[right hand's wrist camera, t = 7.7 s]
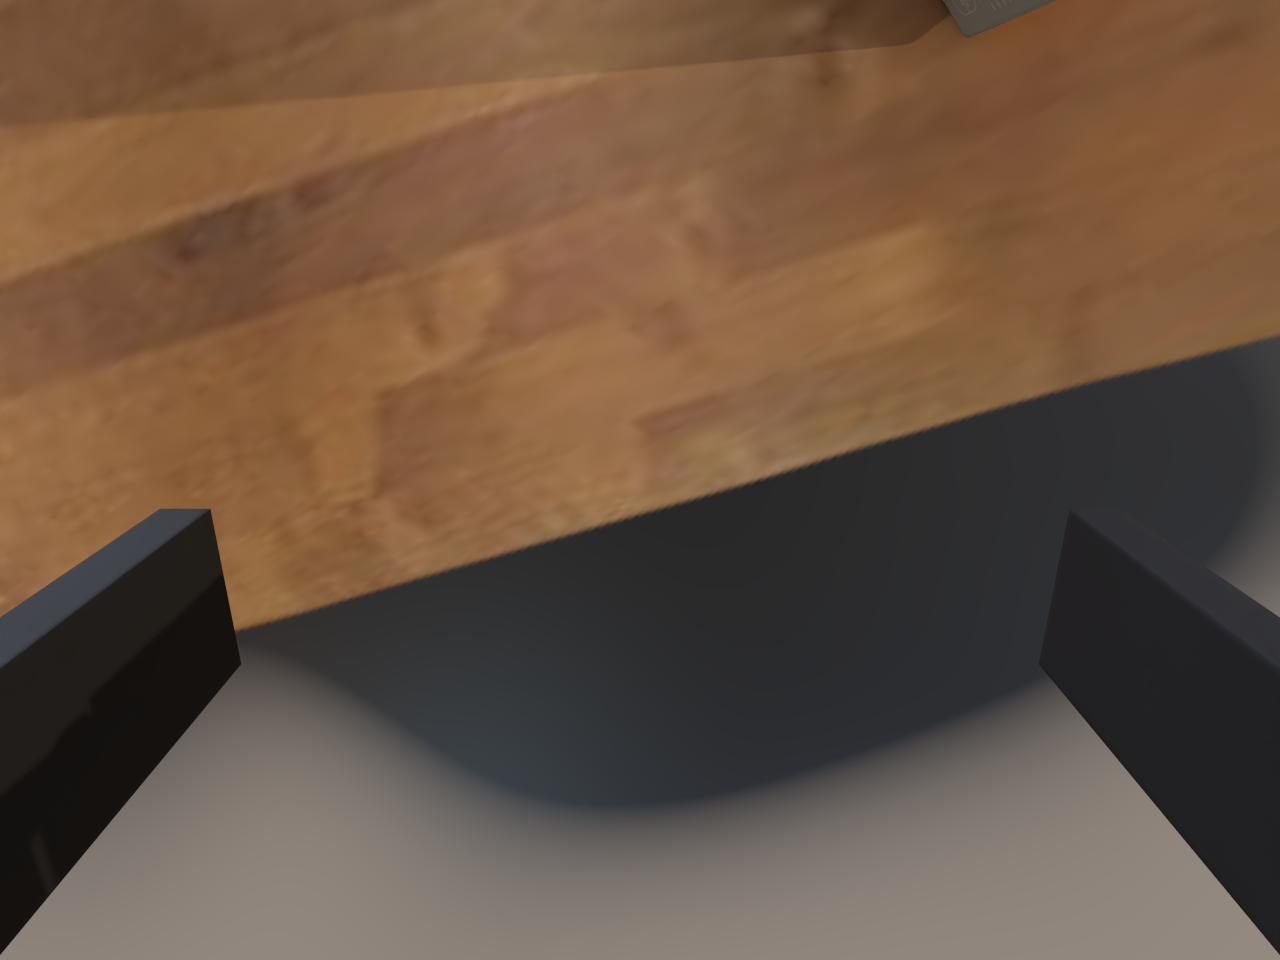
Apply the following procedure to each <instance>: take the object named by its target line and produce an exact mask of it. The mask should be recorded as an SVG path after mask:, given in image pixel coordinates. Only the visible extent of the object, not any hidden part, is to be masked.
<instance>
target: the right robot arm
mask: <svg viewBox="0 0 1280 960" xmlns="http://www.w3.org/2000/svg"><path fill="white" fill-rule="evenodd" d="M240 665H241V661H240V656H239V651H238V646H237V641H236V636H235V631H234V626H233V621H232V616H231V611H230V606H229V601H228V596H227V591H226V586H225V581H224V576H223V571H222V566H221V560H220V555H219V550H218V545H217V540H216V535H215V530H214V525H213V520H212V515H211V510H210V509H159V510H158V511H156V512H155V513H153V514H152V515H150V516H149V517H147V518H146V519H144V520H143V521H142V522H140V523H139V524H137V525H136V526H134V527H133V528H131V529H130V530H128V531H127V532H125V533H124V534H122V535H121V536H119V537H118V538H117V539H115V540H114V541H112V542H111V543H109V544H108V545H106V546H105V547H103V548H102V549H100V550H99V551H97V552H96V553H94V554H93V555H92V556H90V557H89V558H87V559H86V560H84V561H83V562H81V563H80V564H78V565H77V566H75V567H74V568H72V569H71V570H69V571H68V572H67V573H65V574H64V575H62V576H61V577H59V578H58V579H56V580H55V581H53V582H52V583H50V584H49V585H47V586H46V587H44V588H43V589H42V590H40V591H39V592H37V593H36V594H34V595H33V596H31V597H30V598H28V599H27V600H25V601H24V602H22V603H21V604H19V605H18V606H17V607H15V608H14V609H12V610H11V611H9V612H8V613H6V614H5V615H3V616H2V617H0V954H1V953H2V952H3V951H4V950H5V948H6V947H7V946H8V945H9V943H10V942H11V941H12V940H13V939H14V938H15V936H16V935H17V934H18V933H19V932H20V930H21V929H22V928H23V927H24V925H25V924H26V923H27V922H28V921H29V919H30V918H31V917H32V916H33V915H34V913H35V912H36V911H37V910H38V909H39V907H40V906H41V905H42V904H43V903H44V901H45V900H46V899H47V898H48V897H49V895H50V894H51V893H52V892H53V890H54V889H55V888H56V887H57V886H58V884H59V883H60V882H61V881H62V880H63V878H64V877H65V876H66V875H67V874H68V872H69V871H70V870H71V869H72V867H73V866H74V865H75V864H76V863H77V861H78V860H79V859H80V858H81V857H82V855H83V854H84V853H85V852H86V851H87V849H88V848H89V847H90V846H91V845H92V843H93V842H94V841H95V840H96V839H97V837H98V836H99V835H100V834H101V833H102V831H103V830H104V829H105V828H106V827H107V825H108V824H109V823H110V822H111V820H112V819H113V818H114V817H115V816H116V814H117V813H118V812H119V811H120V810H121V808H122V807H123V806H124V805H125V804H126V802H127V801H128V800H129V799H130V798H131V796H132V795H133V794H134V793H135V791H136V790H137V789H138V788H139V787H140V785H141V784H142V783H143V782H144V781H145V779H146V778H147V777H148V776H149V775H150V773H151V772H152V771H153V770H154V769H155V767H156V766H157V765H158V764H159V763H160V761H161V760H162V759H163V758H164V756H165V755H166V754H167V753H168V752H169V750H170V749H171V748H172V747H173V746H174V744H175V743H176V742H177V741H178V740H179V738H180V737H181V736H182V735H183V734H184V732H185V731H186V730H187V729H188V728H189V726H190V725H191V724H192V723H193V721H194V720H195V719H196V718H197V717H198V715H199V714H200V713H201V712H202V711H203V709H204V708H205V707H206V706H207V705H208V703H209V702H210V701H211V700H212V699H213V697H214V696H215V695H216V694H217V693H218V691H219V690H220V689H221V688H222V686H223V685H224V684H225V683H226V682H227V680H228V679H229V678H230V677H231V676H232V674H233V673H234V672H235V671H236V669H237V668H238V667H239V666H240ZM1039 665H1040V666H1041V667H1042V668H1043V670H1044V671H1045V672H1046V673H1047V674H1048V676H1049V677H1050V678H1051V679H1052V680H1053V682H1054V683H1055V684H1056V685H1057V686H1058V688H1059V689H1060V690H1061V691H1062V693H1063V694H1064V695H1065V696H1066V697H1067V699H1068V700H1069V701H1070V702H1071V703H1072V705H1073V706H1074V707H1075V708H1076V709H1077V711H1078V712H1079V713H1080V714H1081V715H1082V717H1083V718H1084V719H1085V720H1086V721H1087V723H1088V724H1089V725H1090V726H1091V727H1092V729H1093V730H1094V731H1095V732H1096V734H1097V735H1098V736H1099V737H1100V738H1101V740H1102V741H1103V742H1104V743H1105V744H1106V746H1107V747H1108V748H1109V749H1110V750H1111V752H1112V753H1113V754H1114V755H1115V756H1116V758H1117V759H1118V760H1119V761H1120V763H1121V764H1122V765H1123V766H1124V767H1125V769H1126V770H1127V771H1128V772H1129V773H1130V775H1131V776H1132V777H1133V778H1134V779H1135V781H1136V782H1137V783H1138V784H1139V785H1140V787H1141V788H1142V789H1143V790H1144V791H1145V793H1146V794H1147V795H1148V796H1149V797H1150V799H1151V800H1152V801H1153V802H1154V804H1155V805H1156V806H1157V807H1158V808H1159V810H1160V811H1161V812H1162V813H1163V814H1164V816H1165V817H1166V818H1167V819H1168V820H1169V822H1170V823H1171V824H1172V825H1173V826H1174V828H1175V829H1176V830H1177V831H1178V833H1179V834H1180V835H1181V836H1182V837H1183V839H1184V840H1185V841H1186V842H1187V843H1188V845H1189V846H1190V847H1191V848H1192V849H1193V851H1194V852H1195V853H1196V854H1197V855H1198V857H1199V858H1200V859H1201V860H1202V862H1203V863H1204V864H1205V865H1206V866H1207V868H1208V869H1209V870H1210V871H1211V872H1212V874H1213V875H1214V876H1215V877H1216V878H1217V880H1218V881H1219V882H1220V883H1221V884H1222V886H1223V887H1224V888H1225V889H1226V890H1227V892H1228V893H1229V894H1230V895H1231V897H1232V898H1233V899H1234V900H1235V901H1236V903H1237V904H1238V905H1239V906H1240V907H1241V909H1242V910H1243V911H1244V912H1245V913H1246V915H1247V916H1248V917H1249V918H1250V919H1251V921H1252V922H1253V923H1254V924H1255V925H1256V927H1257V928H1258V929H1259V930H1260V932H1261V933H1262V934H1263V935H1264V936H1265V938H1266V939H1267V940H1268V941H1269V942H1270V944H1271V945H1272V946H1273V947H1274V948H1275V950H1276V951H1277V952H1278V953H1279V954H1280V617H1278V616H1277V615H1275V614H1274V613H1272V612H1271V611H1269V610H1268V609H1266V608H1265V607H1263V606H1262V605H1260V604H1259V603H1258V602H1256V601H1255V600H1253V599H1252V598H1250V597H1249V596H1247V595H1246V594H1244V593H1243V592H1241V591H1240V590H1238V589H1237V588H1236V587H1234V586H1233V585H1231V584H1230V583H1228V582H1227V581H1225V580H1224V579H1222V578H1221V577H1219V576H1218V575H1216V574H1215V573H1213V572H1212V571H1210V570H1209V569H1208V568H1206V567H1205V566H1203V565H1202V564H1200V563H1199V562H1197V561H1196V560H1194V559H1193V558H1191V557H1190V556H1188V555H1187V554H1186V553H1184V552H1183V551H1181V550H1180V549H1178V548H1177V547H1175V546H1174V545H1172V544H1171V543H1169V542H1168V541H1166V540H1165V539H1163V538H1162V537H1161V536H1159V535H1158V534H1156V533H1155V532H1153V531H1152V530H1150V529H1149V528H1147V527H1146V526H1144V525H1143V524H1141V523H1140V522H1138V521H1137V520H1136V519H1134V518H1133V517H1131V516H1130V515H1128V514H1127V513H1125V512H1124V511H1122V510H1121V509H1070V510H1069V515H1068V521H1067V525H1066V530H1065V535H1064V540H1063V545H1062V550H1061V555H1060V560H1059V565H1058V571H1057V576H1056V581H1055V586H1054V591H1053V596H1052V601H1051V606H1050V611H1049V616H1048V621H1047V626H1046V631H1045V636H1044V641H1043V646H1042V651H1041V656H1040V661H1039Z"/></svg>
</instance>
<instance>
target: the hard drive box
mask: <svg viewBox="0 0 1280 960" xmlns="http://www.w3.org/2000/svg"><path fill="white" fill-rule="evenodd" d="M943 1H944V3H945V5H946V6H947V8H948V10H949V11H950V13H951V15H952V16H953V18H954V20H955V22H956V23H957V25H958V27H959V28H960V30H961V31H962V33H963V34H964V36H965V37H971V36H973V35H975V34H978V33H980V32H983V31H985V30H988V29H990V28H993V27H995V26H998V25H1000V24H1002V23H1005V22H1007V21H1010V20H1012V19H1014V18H1017V17H1019V16H1021V15H1024V14H1026V13H1028V12H1030V11H1033V10H1035V9H1037V8H1040V7H1042V6H1044V5H1047V4H1049V3H1051V2H1054V1H1056V0H943Z"/></svg>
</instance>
